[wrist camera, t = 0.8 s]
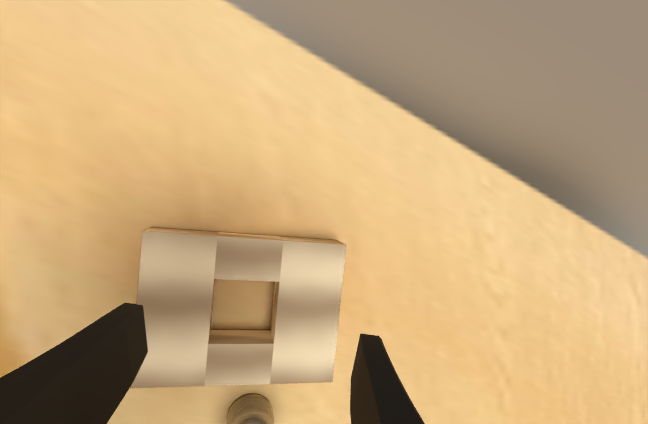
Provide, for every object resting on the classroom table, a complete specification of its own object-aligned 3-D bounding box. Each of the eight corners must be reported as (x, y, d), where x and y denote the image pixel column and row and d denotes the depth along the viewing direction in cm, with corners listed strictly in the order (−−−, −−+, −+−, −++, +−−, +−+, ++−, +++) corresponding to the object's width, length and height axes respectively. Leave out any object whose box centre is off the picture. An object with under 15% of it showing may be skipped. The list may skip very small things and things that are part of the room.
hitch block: (324, 365, 34) (332, 382, 31) (139, 369, 30) (129, 388, 27) (336, 240, 34) (346, 244, 31) (151, 227, 30) (142, 231, 27)
